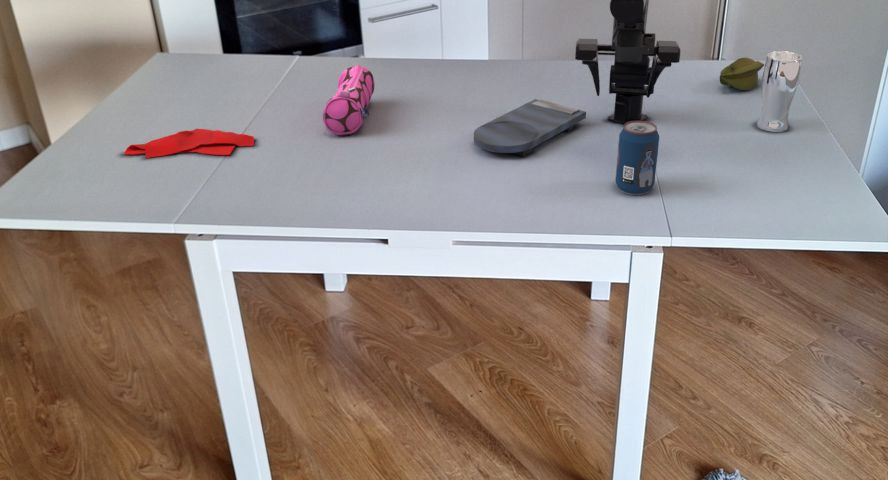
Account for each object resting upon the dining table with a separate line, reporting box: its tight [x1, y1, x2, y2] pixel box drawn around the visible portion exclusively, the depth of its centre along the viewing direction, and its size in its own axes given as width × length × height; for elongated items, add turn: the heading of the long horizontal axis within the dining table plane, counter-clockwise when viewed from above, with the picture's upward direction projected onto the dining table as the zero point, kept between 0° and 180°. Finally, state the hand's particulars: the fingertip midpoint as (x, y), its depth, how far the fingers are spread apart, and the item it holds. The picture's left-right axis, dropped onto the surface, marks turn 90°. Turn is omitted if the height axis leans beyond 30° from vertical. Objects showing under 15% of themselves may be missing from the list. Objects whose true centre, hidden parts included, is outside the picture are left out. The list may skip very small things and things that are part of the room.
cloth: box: [123, 128, 255, 159], centre depth 187 cm, size 26×14×2 cm, turn 89°
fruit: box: [719, 57, 765, 91], centre depth 207 cm, size 11×12×7 cm
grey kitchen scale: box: [473, 98, 587, 157], centre depth 185 cm, size 26×13×3 cm, turn 140°
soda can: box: [615, 120, 660, 196], centre depth 161 cm, size 7×7×12 cm
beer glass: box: [756, 50, 803, 133], centre depth 183 cm, size 7×7×15 cm
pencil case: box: [322, 64, 375, 136], centre depth 195 cm, size 21×10×10 cm, turn 178°
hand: (622, 96), depth 170 cm, fingers open, 9 cm apart
